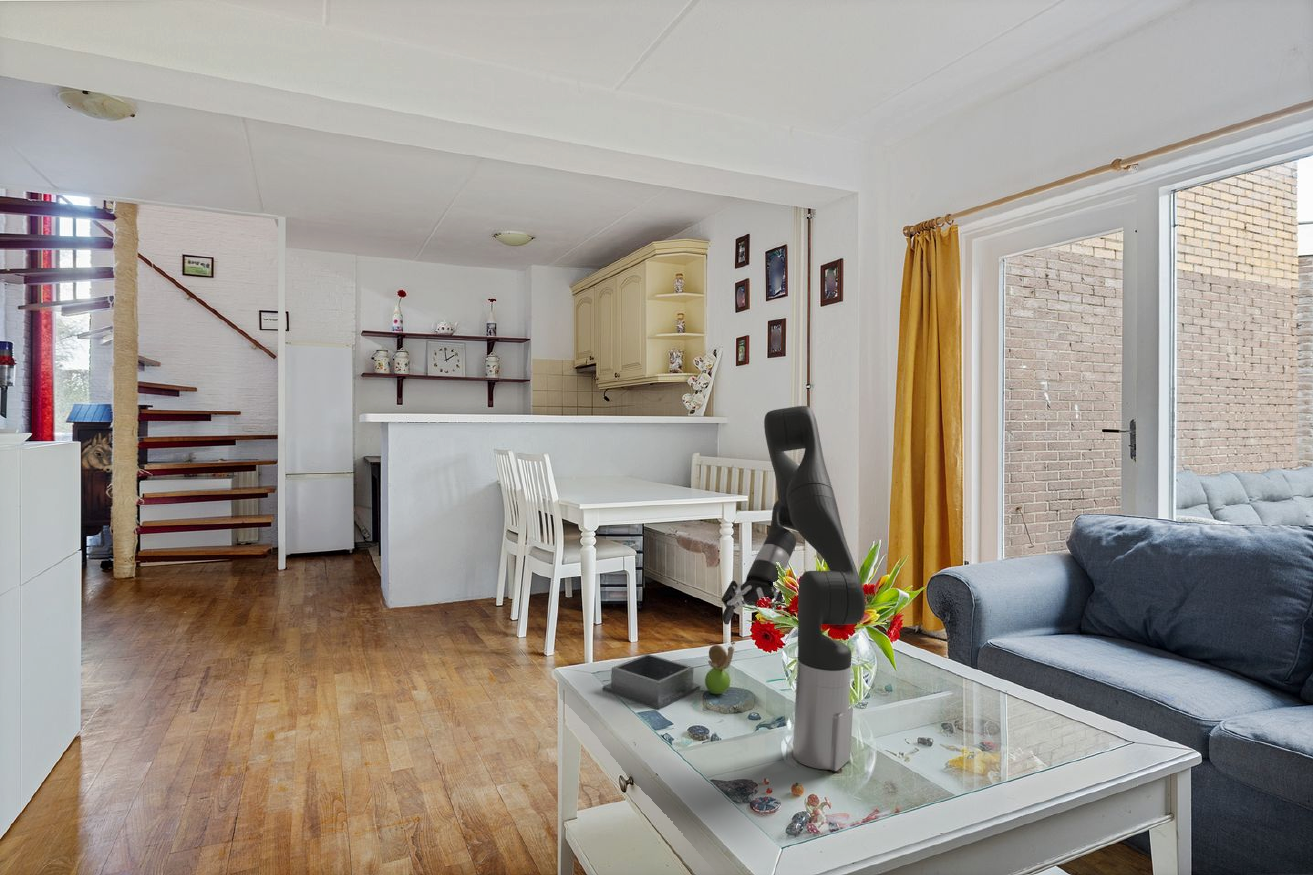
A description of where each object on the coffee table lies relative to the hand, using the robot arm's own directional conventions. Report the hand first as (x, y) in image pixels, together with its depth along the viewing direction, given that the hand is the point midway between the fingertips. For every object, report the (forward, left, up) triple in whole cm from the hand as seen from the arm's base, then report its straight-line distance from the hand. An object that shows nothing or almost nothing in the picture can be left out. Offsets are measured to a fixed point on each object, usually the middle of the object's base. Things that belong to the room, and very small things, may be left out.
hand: (741, 626), depth 165 cm
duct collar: (+12, +16, -13) cm, 24 cm away
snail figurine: (0, +8, -13) cm, 15 cm away
